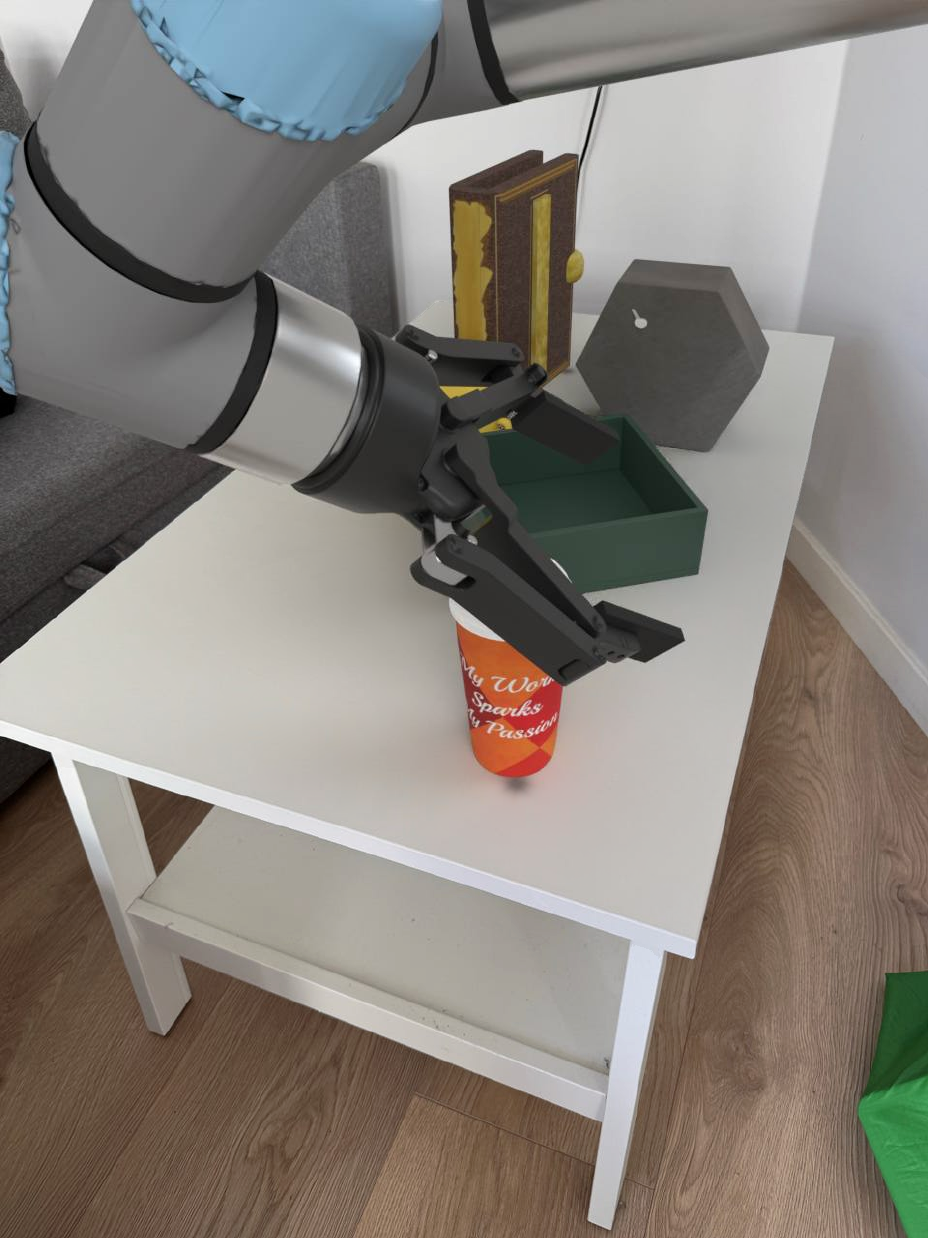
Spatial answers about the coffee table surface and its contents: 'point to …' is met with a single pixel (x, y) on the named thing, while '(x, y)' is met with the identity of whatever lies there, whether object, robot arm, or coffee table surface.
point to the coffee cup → (506, 700)
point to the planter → (675, 352)
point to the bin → (602, 508)
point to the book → (517, 256)
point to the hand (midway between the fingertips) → (631, 541)
